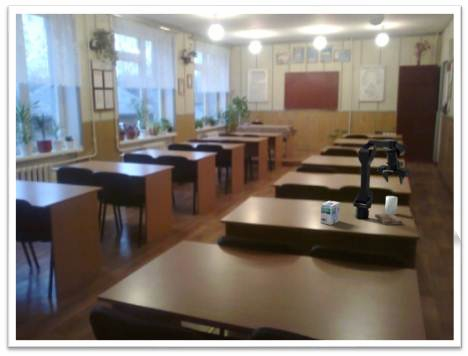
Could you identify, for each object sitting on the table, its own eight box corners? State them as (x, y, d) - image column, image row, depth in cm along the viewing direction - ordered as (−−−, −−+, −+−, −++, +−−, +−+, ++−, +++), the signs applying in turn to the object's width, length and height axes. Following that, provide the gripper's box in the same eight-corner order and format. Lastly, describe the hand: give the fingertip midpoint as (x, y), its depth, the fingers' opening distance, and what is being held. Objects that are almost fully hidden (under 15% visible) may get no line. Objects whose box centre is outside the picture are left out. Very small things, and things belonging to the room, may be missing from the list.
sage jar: (387, 215, 256) (388, 198, 254) (383, 212, 262) (384, 195, 260) (397, 215, 256) (399, 198, 254) (393, 212, 262) (395, 195, 260)
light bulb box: (331, 225, 236) (332, 206, 234) (319, 223, 240) (320, 204, 238) (339, 220, 244) (340, 202, 242) (328, 218, 248) (329, 200, 246)
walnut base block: (383, 224, 237) (383, 220, 237) (374, 217, 251) (375, 213, 251) (401, 224, 237) (401, 220, 237) (392, 217, 251) (392, 213, 251)
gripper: (414, 156, 259) (415, 180, 264) (385, 153, 273) (387, 175, 279) (404, 163, 253) (405, 187, 258) (375, 159, 267) (378, 182, 273)
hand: (394, 183), depth 267 cm, fingers open, 9 cm apart
